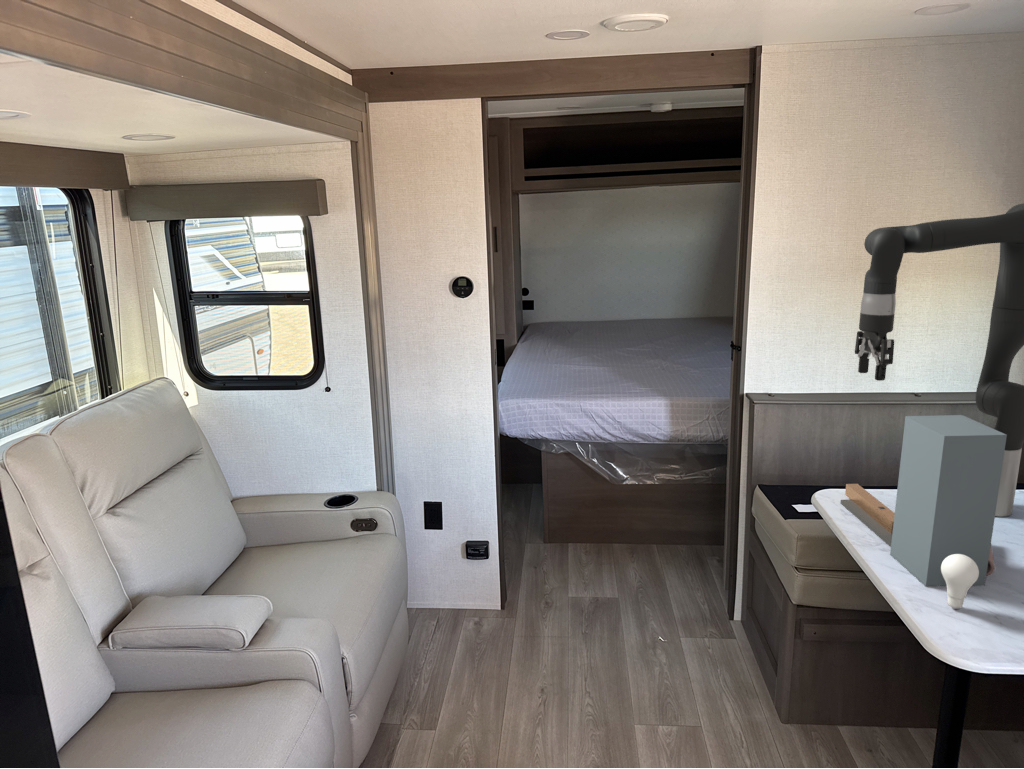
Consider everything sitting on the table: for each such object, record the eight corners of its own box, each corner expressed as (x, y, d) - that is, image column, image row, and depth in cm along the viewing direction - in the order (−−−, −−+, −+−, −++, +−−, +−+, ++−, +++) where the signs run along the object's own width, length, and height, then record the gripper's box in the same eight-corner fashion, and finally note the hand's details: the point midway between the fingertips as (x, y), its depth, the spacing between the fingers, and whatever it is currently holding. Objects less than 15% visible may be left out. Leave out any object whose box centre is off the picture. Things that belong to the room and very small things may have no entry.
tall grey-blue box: (890, 554, 159) (905, 416, 152) (944, 553, 159) (962, 415, 152) (925, 586, 146) (944, 436, 138) (984, 585, 146) (1006, 434, 138)
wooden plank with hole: (845, 494, 191) (846, 483, 190) (856, 494, 191) (857, 483, 190) (891, 533, 167) (892, 521, 167) (903, 533, 167) (905, 521, 167)
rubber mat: (840, 503, 188) (840, 499, 187) (871, 502, 188) (871, 499, 187) (892, 548, 162) (892, 544, 162) (927, 547, 162) (927, 543, 162)
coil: (997, 560, 147) (992, 527, 162) (971, 553, 149) (968, 521, 164) (991, 580, 149) (986, 546, 164) (965, 573, 151) (963, 539, 166)
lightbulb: (929, 600, 141) (935, 549, 138) (958, 598, 141) (965, 547, 138) (950, 617, 135) (957, 564, 132) (980, 615, 135) (988, 562, 133)
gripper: (908, 315, 168) (901, 382, 172) (878, 307, 182) (872, 370, 186) (876, 316, 168) (869, 383, 172) (848, 308, 182) (843, 370, 186)
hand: (871, 376), depth 179 cm, fingers open, 8 cm apart
